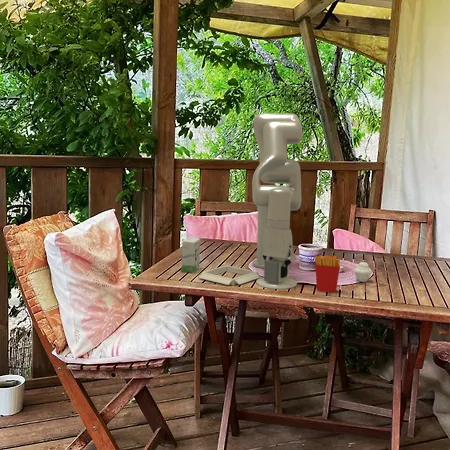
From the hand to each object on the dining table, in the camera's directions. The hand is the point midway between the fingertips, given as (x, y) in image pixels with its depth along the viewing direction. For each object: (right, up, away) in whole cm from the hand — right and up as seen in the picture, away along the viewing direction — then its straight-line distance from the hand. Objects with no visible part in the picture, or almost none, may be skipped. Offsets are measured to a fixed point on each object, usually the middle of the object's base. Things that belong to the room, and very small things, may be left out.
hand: (276, 275), depth 185 cm
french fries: (+16, -5, -7) cm, 18 cm away
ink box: (-31, 0, +17) cm, 36 cm away
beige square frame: (-16, -1, +7) cm, 18 cm away
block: (0, -2, 0) cm, 2 cm away
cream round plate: (0, -3, 0) cm, 3 cm away
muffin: (+31, -3, +6) cm, 32 cm away
